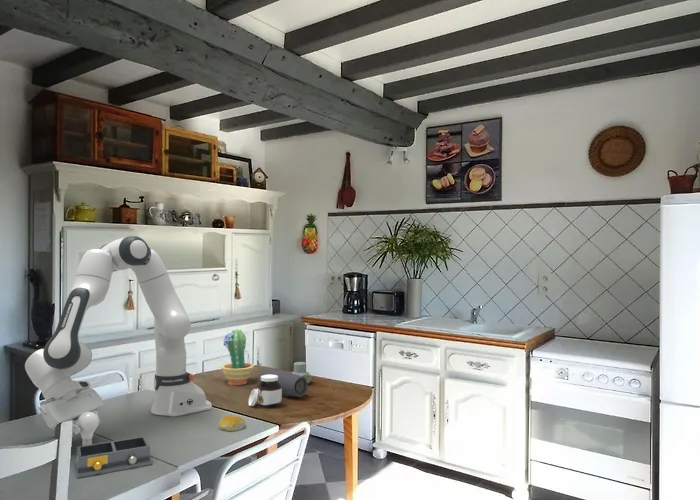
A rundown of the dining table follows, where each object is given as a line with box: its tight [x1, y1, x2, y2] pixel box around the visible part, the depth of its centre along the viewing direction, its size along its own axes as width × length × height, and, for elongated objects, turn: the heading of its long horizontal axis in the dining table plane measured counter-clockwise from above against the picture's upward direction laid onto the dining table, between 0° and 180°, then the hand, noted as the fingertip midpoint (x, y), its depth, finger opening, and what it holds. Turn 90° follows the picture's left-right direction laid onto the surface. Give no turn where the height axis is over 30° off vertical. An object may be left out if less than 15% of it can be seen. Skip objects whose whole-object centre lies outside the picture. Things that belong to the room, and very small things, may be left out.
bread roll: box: [218, 415, 246, 432], centre depth 178 cm, size 8×9×4 cm
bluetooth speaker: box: [258, 368, 309, 398], centre depth 221 cm, size 23×9×10 cm, turn 50°
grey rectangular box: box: [75, 435, 153, 479], centre depth 146 cm, size 19×12×4 cm, turn 120°
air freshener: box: [291, 361, 312, 384], centre depth 239 cm, size 11×8×10 cm
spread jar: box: [248, 374, 283, 409], centre depth 204 cm, size 12×11×12 cm
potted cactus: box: [221, 329, 255, 386], centre depth 241 cm, size 15×15×25 cm
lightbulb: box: [75, 412, 100, 446], centre depth 157 cm, size 6×6×11 cm
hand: (89, 428), depth 157 cm, fingers closed on lightbulb, 6 cm apart
